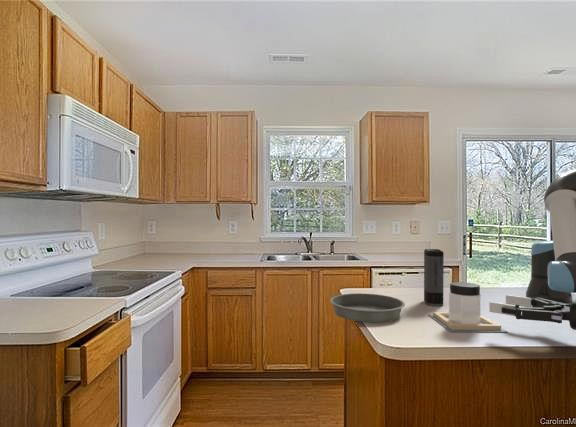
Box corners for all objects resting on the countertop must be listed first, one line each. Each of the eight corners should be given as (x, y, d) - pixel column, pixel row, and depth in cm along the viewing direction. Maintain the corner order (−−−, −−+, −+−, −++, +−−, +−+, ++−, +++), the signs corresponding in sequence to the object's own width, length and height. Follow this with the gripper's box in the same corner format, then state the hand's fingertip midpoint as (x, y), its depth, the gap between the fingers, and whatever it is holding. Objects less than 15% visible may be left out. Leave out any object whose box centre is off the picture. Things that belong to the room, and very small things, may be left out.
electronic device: (444, 306, 140) (444, 251, 140) (427, 305, 141) (427, 251, 141) (439, 300, 149) (439, 249, 149) (423, 300, 150) (423, 248, 150)
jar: (453, 318, 122) (454, 281, 122) (482, 323, 117) (482, 283, 117) (446, 325, 115) (446, 285, 115) (476, 330, 110) (476, 288, 110)
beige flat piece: (477, 315, 127) (477, 311, 127) (507, 332, 109) (507, 327, 109) (428, 315, 127) (428, 310, 127) (450, 332, 109) (450, 326, 109)
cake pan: (321, 319, 122) (321, 305, 122) (339, 303, 145) (339, 291, 145) (401, 328, 113) (401, 313, 113) (407, 309, 136) (407, 296, 136)
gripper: (581, 343, 87) (482, 324, 102) (599, 322, 104) (512, 308, 120) (581, 310, 87) (482, 296, 102) (599, 295, 104) (512, 284, 120)
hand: (498, 302), depth 111 cm, fingers open, 13 cm apart
